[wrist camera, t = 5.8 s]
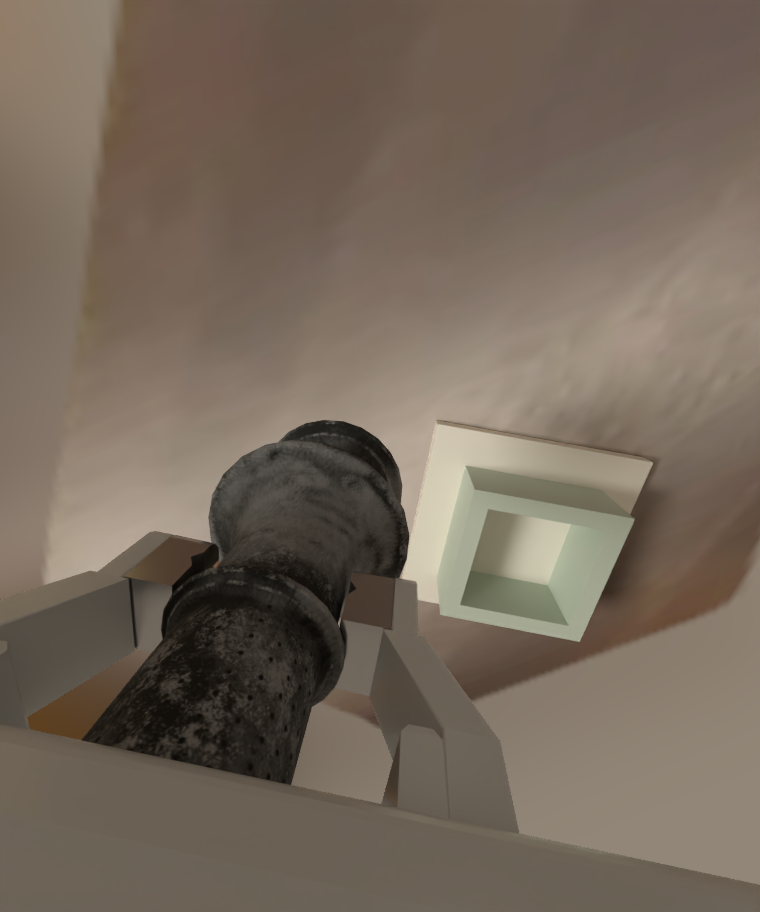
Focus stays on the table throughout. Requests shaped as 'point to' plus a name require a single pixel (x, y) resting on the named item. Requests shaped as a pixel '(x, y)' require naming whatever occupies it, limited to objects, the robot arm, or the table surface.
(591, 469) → the stand
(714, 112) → the table surface
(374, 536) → the dark chess piece
